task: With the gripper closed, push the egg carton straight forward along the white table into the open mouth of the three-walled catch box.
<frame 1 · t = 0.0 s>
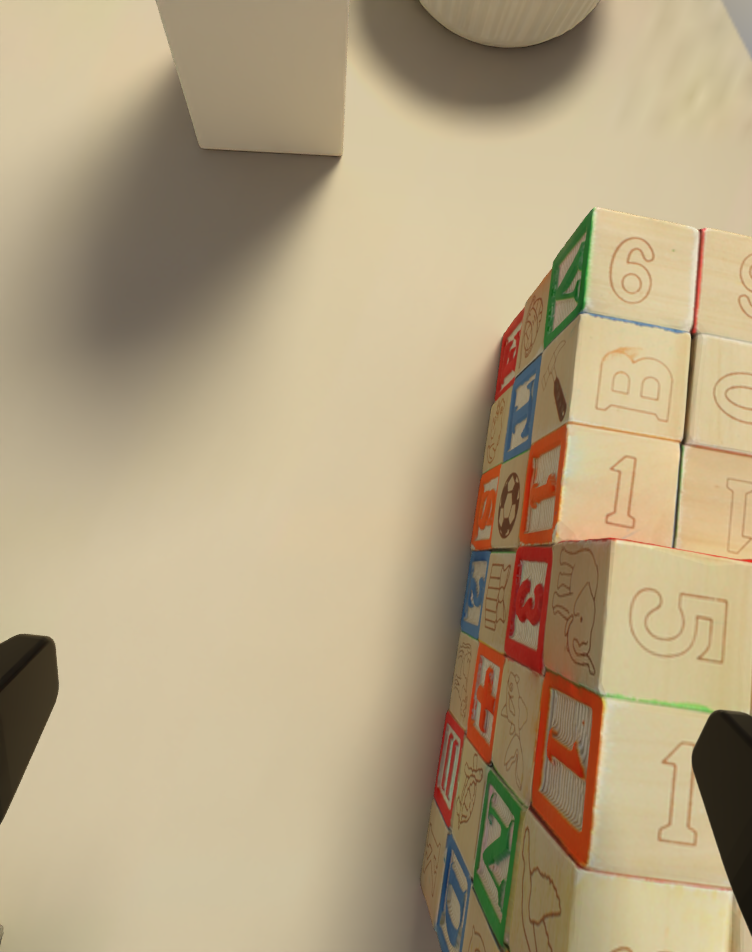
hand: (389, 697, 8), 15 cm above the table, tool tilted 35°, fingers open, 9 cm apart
stack of blocks: (536, 602, 24), on the table
milk: (274, 94, 26), on the table
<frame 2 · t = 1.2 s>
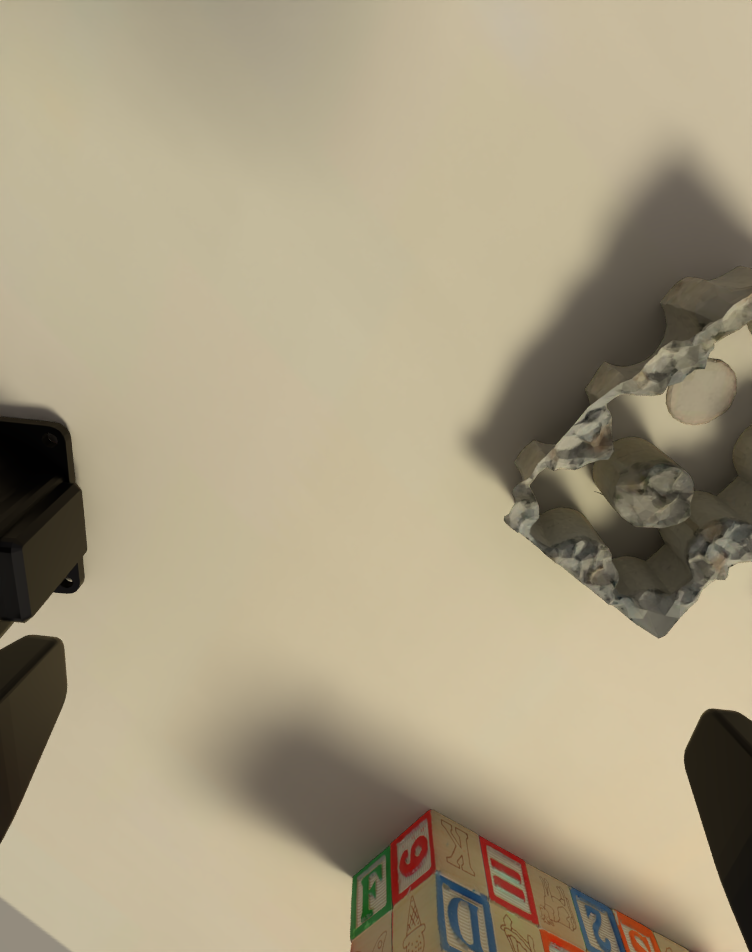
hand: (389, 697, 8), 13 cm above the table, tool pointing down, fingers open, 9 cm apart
stack of blocks: (547, 919, 32), on the table
egg carton: (660, 429, 21), on the table
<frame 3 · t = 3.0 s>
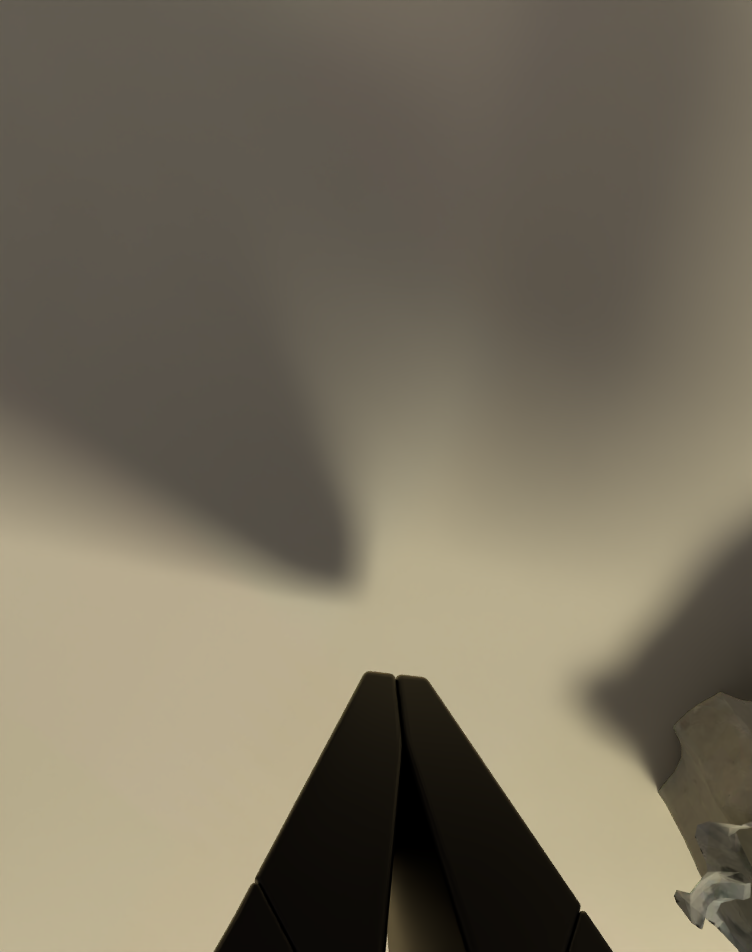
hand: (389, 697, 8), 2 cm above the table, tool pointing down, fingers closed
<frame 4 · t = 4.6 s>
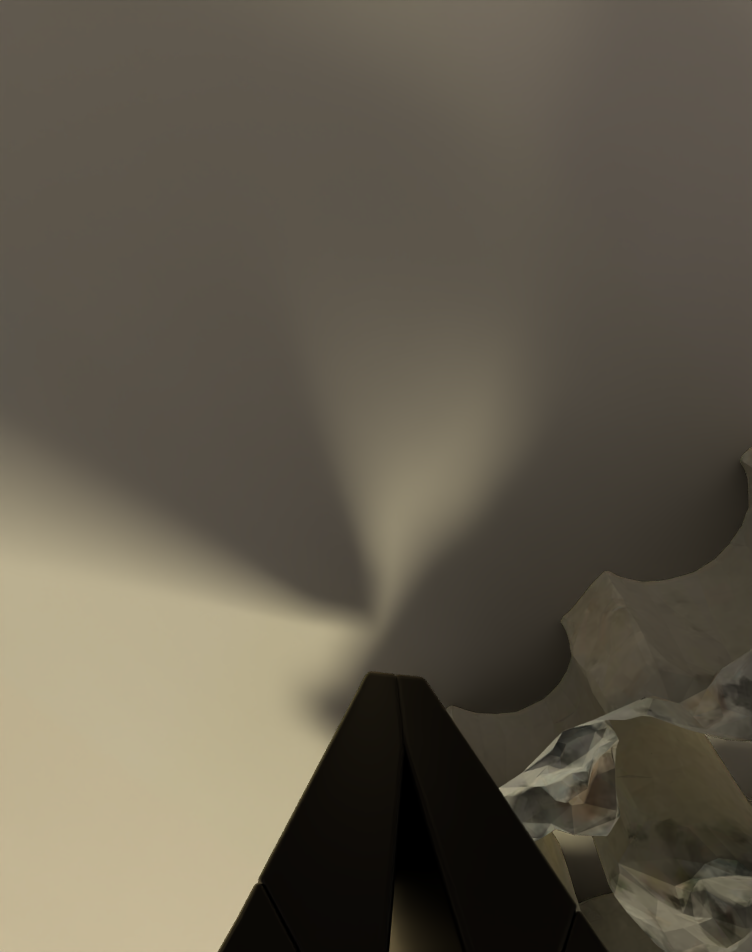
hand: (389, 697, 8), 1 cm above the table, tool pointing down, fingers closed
egg carton: (710, 685, 10), on the table
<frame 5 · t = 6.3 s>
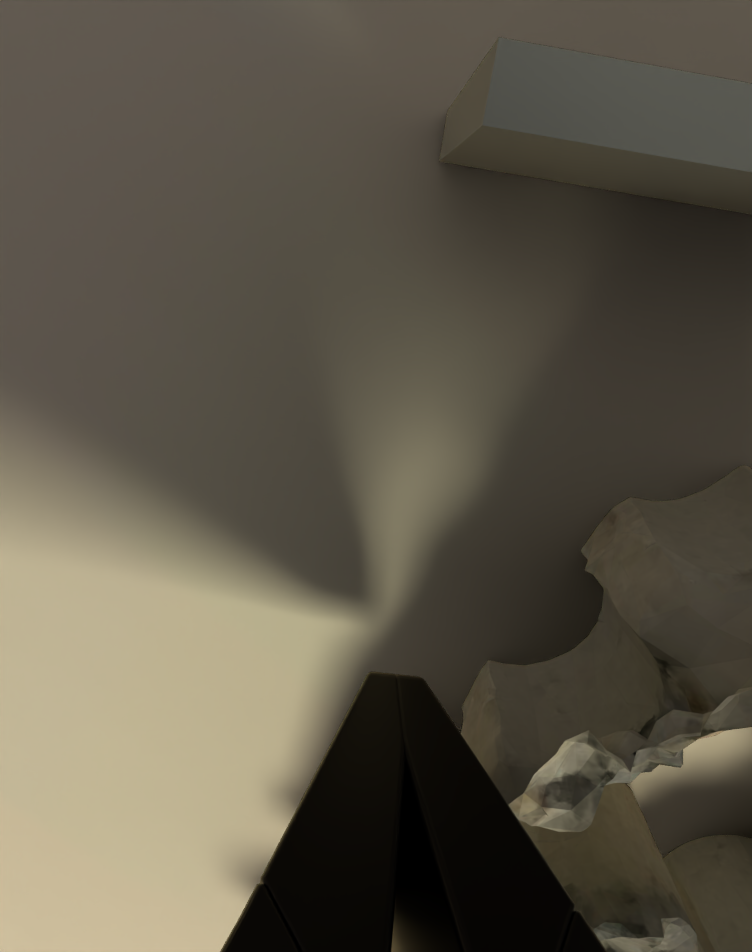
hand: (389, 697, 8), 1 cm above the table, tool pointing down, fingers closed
egg carton: (628, 736, 11), on the table
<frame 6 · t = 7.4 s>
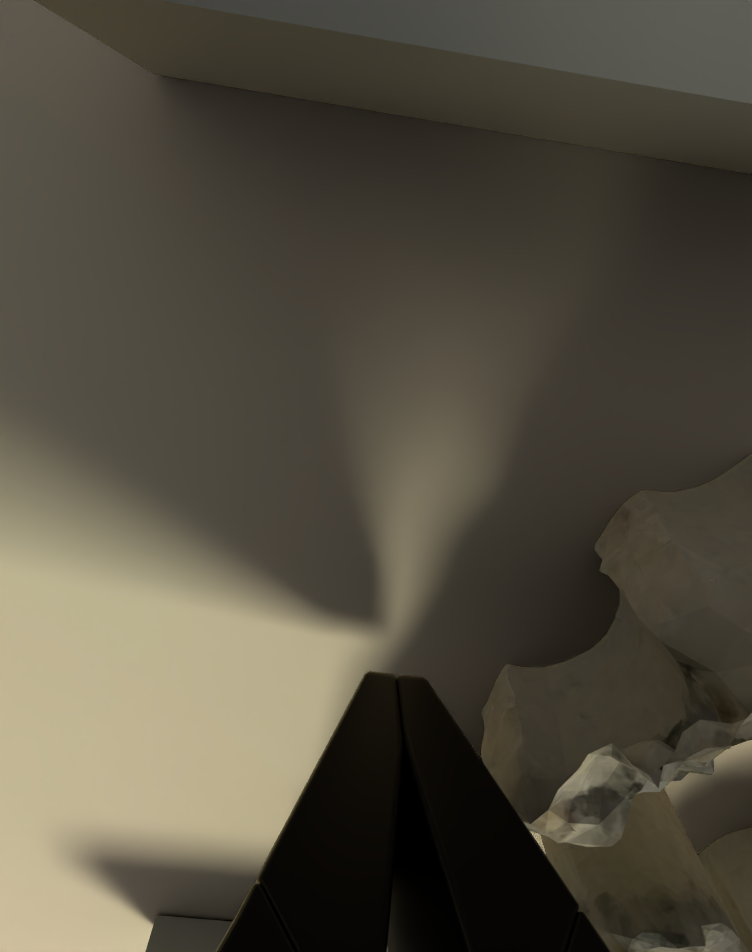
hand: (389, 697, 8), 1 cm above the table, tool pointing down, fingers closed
egg carton: (657, 733, 11), on the table
catch box: (641, 678, 10), on the table
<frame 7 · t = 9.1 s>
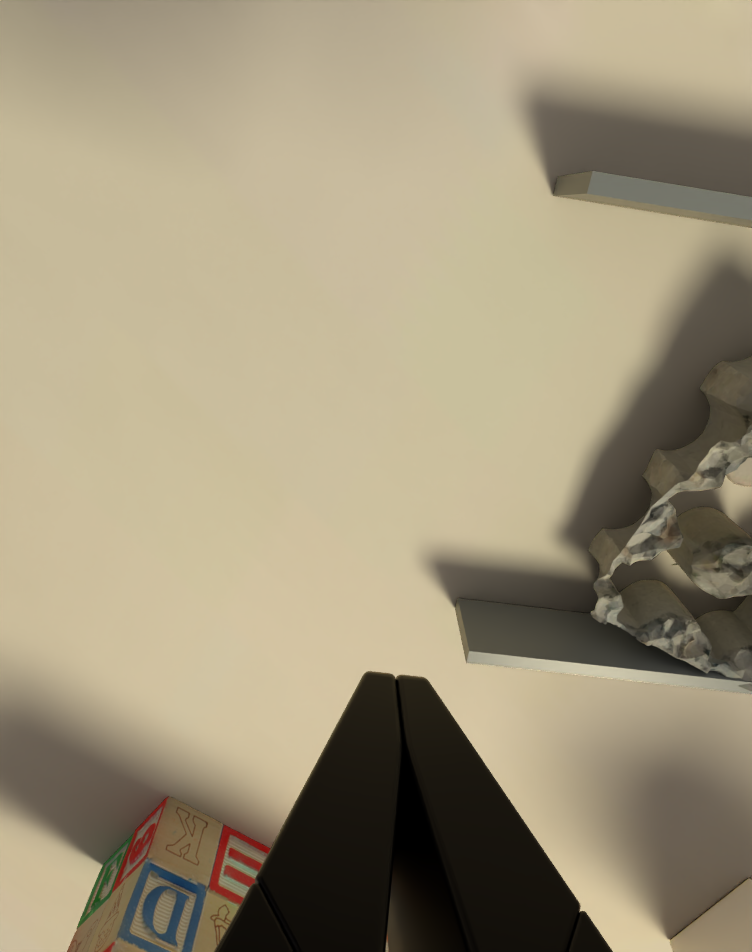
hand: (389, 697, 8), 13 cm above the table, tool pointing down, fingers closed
stack of blocks: (315, 912, 31), on the table
egg carton: (723, 493, 22), on the table
catch box: (713, 454, 21), on the table
milk: (747, 923, 32), on the table
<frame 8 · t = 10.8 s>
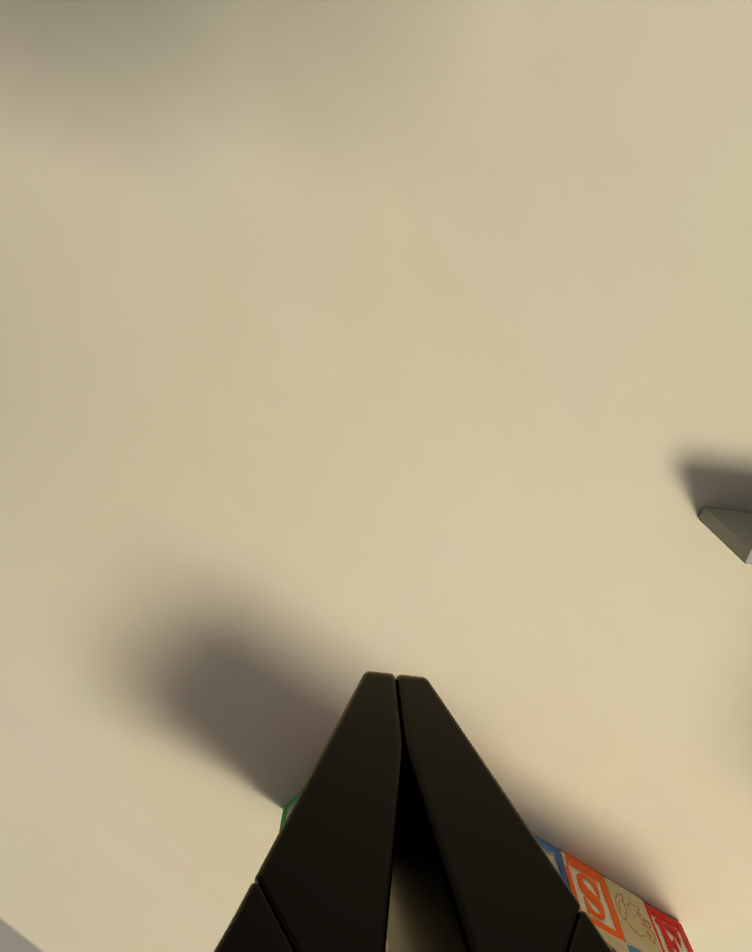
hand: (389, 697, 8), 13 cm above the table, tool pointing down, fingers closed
stack of blocks: (492, 861, 30), on the table
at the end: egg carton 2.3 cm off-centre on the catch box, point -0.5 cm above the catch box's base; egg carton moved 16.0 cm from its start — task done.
